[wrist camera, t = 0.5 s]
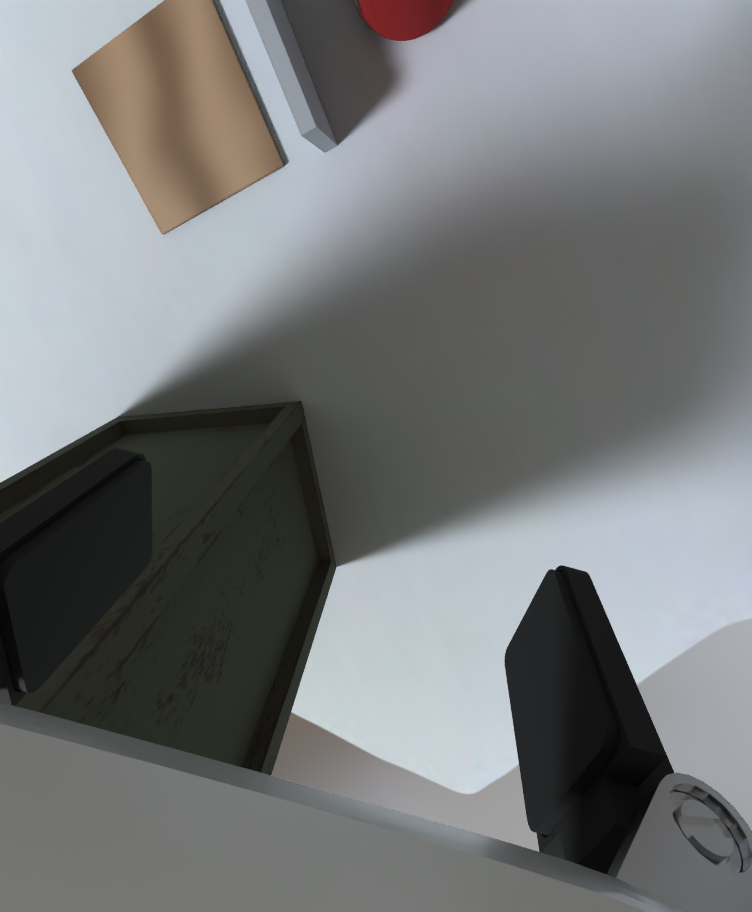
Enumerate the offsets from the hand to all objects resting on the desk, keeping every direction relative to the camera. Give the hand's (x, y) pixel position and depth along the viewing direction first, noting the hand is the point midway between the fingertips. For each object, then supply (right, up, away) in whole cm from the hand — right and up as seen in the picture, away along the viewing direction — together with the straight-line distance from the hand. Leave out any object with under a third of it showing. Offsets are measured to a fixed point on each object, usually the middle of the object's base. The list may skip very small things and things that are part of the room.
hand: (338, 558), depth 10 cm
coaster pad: (-13, +26, +21) cm, 36 cm away
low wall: (-5, +29, +19) cm, 35 cm away
